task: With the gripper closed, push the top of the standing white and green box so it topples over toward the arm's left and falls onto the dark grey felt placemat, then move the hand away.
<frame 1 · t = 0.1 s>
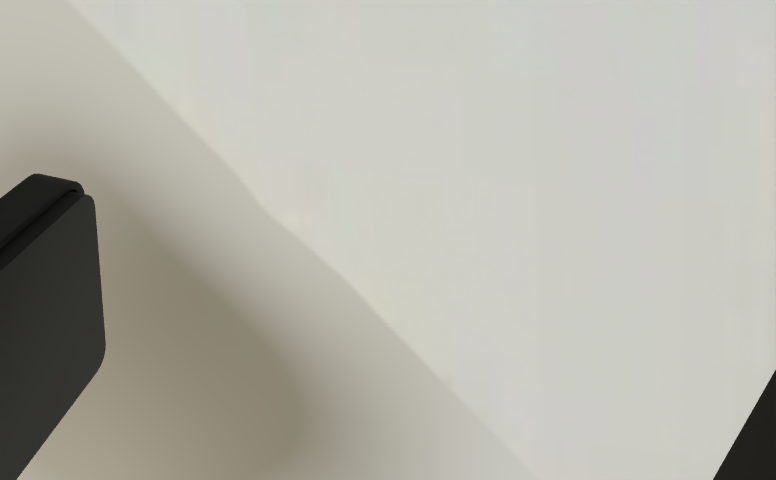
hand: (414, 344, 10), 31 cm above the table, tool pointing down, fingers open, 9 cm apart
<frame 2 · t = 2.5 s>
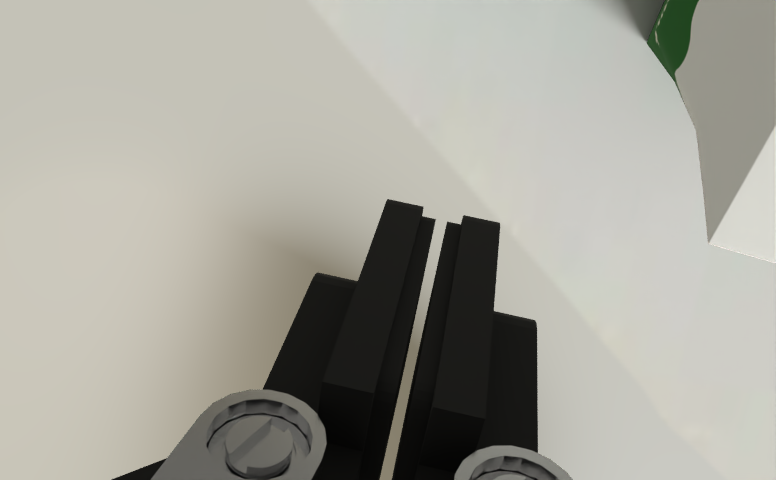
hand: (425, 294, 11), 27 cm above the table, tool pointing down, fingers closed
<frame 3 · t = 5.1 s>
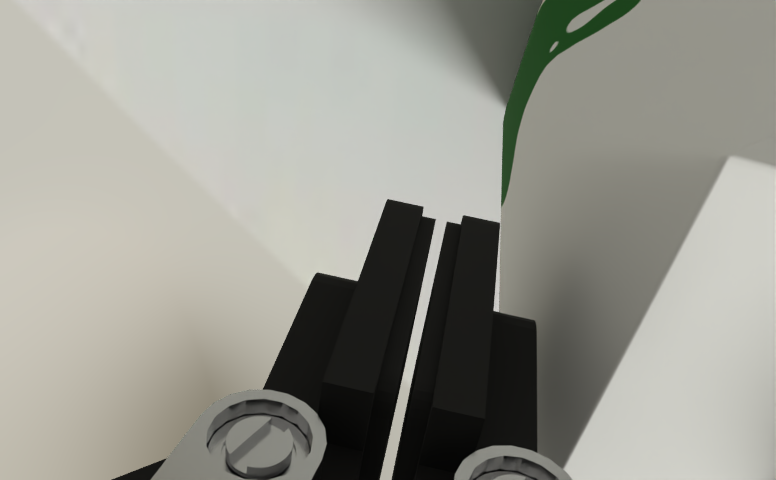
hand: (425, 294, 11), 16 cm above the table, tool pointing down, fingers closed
white and green box: (650, 46, 24), on the table, touching gripper
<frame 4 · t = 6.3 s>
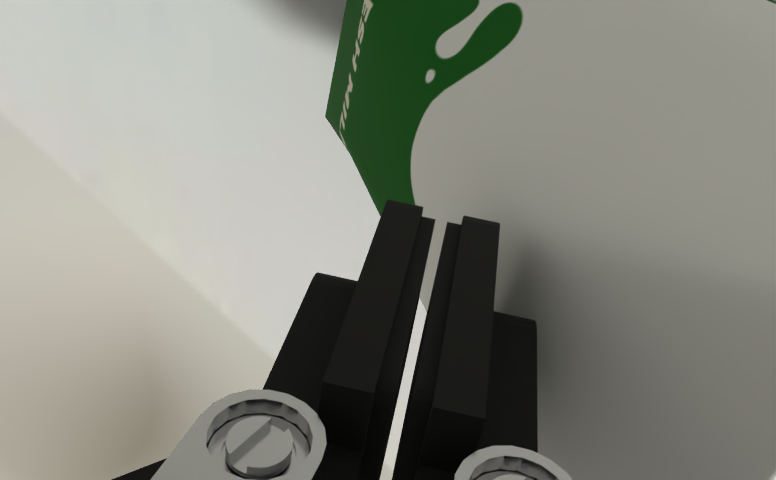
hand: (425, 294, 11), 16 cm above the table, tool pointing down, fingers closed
white and green box: (449, 20, 23), point 1 cm above the table
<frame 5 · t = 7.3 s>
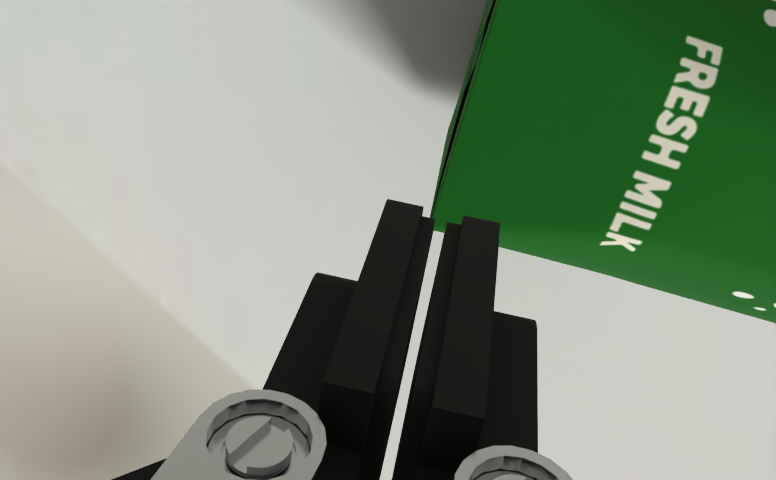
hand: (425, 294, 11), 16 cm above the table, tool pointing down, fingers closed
white and green box: (464, 61, 20), point 5 cm above the table, touching placemat
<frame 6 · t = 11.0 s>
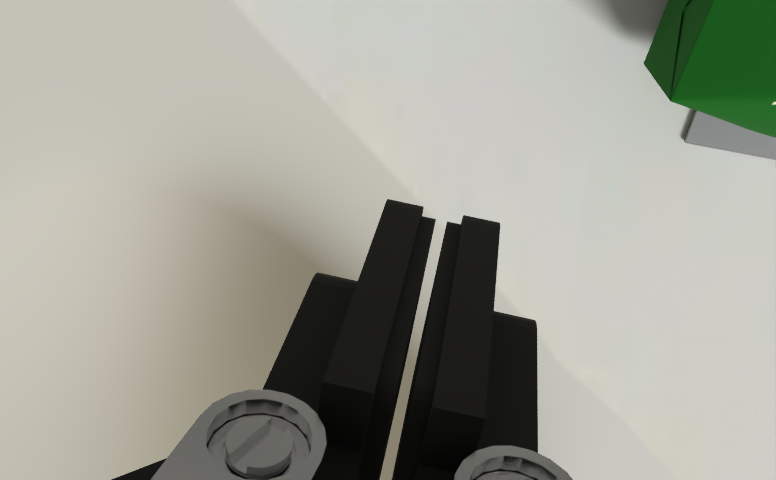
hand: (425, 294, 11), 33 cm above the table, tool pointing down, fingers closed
white and green box: (679, 8, 35), point 5 cm above the table, touching placemat
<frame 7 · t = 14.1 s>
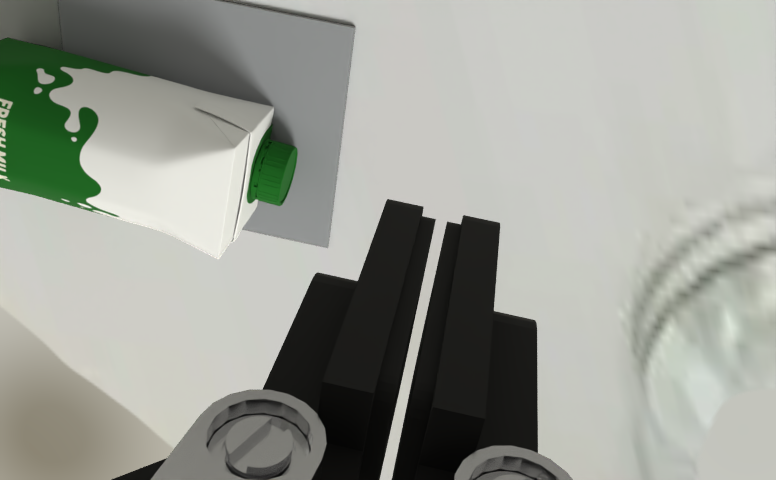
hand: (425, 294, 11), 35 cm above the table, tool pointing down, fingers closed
placemat: (203, 117, 50), on the table
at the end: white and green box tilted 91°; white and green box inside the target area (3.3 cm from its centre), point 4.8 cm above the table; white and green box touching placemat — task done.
